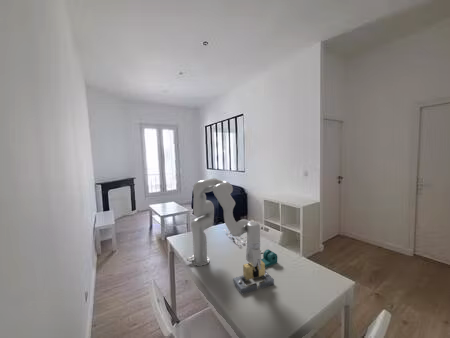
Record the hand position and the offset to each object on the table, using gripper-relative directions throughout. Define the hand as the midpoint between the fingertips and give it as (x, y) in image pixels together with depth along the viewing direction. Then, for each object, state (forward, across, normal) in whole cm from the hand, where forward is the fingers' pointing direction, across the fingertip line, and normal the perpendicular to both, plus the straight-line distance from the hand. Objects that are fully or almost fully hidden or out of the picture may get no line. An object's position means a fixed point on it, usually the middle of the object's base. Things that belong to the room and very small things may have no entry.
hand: (254, 274), depth 119 cm
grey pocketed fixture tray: (+6, 0, 0) cm, 6 cm away
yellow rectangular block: (+1, 0, 0) cm, 1 cm away
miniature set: (+6, -62, +16) cm, 64 cm away
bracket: (+6, -15, +16) cm, 23 cm away
